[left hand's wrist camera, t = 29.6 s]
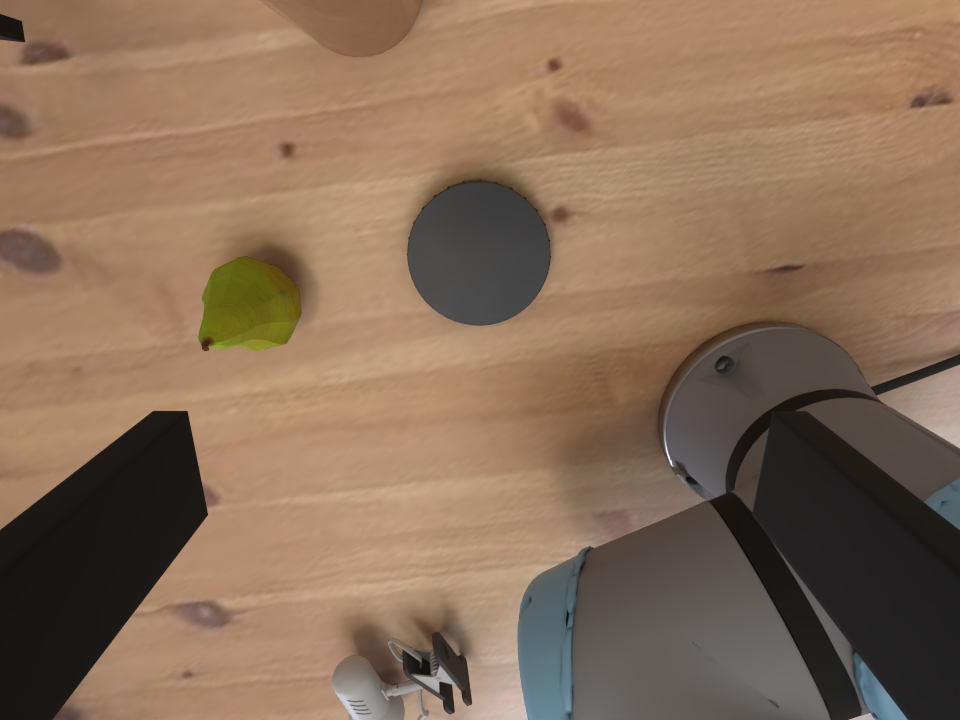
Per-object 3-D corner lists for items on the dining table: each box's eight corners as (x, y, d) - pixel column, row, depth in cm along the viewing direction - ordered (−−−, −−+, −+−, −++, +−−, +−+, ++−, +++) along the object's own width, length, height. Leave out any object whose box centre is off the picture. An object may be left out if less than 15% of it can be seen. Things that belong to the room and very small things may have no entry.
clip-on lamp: (488, 708, 59) (447, 611, 50) (499, 777, 54) (455, 683, 44) (382, 737, 59) (319, 646, 49) (381, 809, 54) (311, 722, 44)
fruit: (209, 272, 40) (103, 317, 29) (283, 237, 39) (204, 269, 28) (256, 349, 42) (174, 419, 31) (327, 316, 41) (270, 377, 30)
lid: (392, 292, 41) (388, 298, 39) (435, 158, 38) (433, 158, 36) (517, 336, 42) (519, 344, 40) (569, 210, 39) (574, 212, 37)
